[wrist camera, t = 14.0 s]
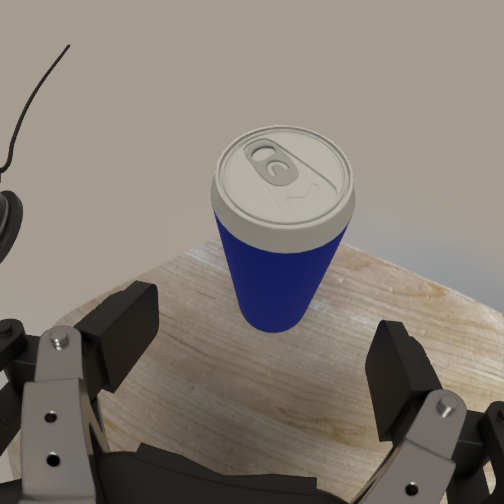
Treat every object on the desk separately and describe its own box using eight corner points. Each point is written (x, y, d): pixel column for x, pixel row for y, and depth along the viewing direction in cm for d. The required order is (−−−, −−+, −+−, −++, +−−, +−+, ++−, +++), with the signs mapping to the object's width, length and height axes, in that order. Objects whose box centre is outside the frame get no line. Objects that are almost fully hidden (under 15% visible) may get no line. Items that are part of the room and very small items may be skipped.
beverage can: (319, 308, 22) (391, 187, 9) (265, 347, 21) (267, 272, 8) (280, 259, 24) (295, 105, 11) (227, 293, 23) (180, 158, 10)
